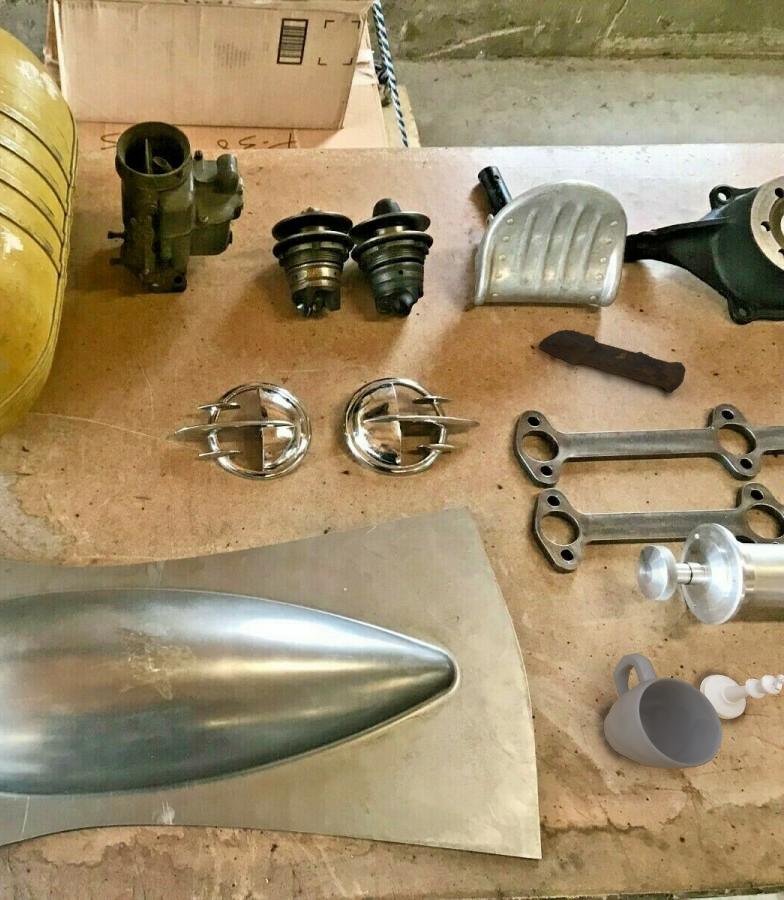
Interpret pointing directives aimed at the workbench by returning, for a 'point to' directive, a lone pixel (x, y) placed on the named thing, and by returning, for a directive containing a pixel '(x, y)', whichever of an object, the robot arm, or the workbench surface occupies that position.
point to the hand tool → (613, 359)
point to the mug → (661, 719)
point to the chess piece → (737, 692)
